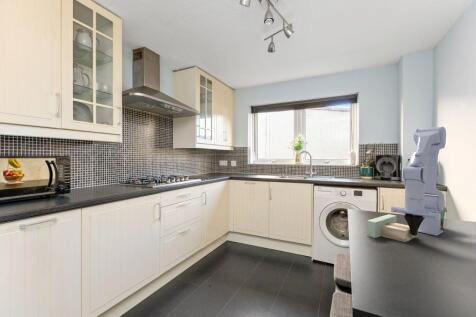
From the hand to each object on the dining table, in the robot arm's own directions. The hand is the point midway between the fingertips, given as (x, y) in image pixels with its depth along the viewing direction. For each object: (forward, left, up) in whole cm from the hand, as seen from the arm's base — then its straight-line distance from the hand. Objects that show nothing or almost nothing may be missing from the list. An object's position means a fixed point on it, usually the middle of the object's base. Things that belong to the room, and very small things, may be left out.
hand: (414, 235), depth 83 cm
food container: (-30, -1, -2) cm, 30 cm away
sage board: (0, -11, -2) cm, 11 cm away
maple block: (0, -5, -2) cm, 6 cm away
